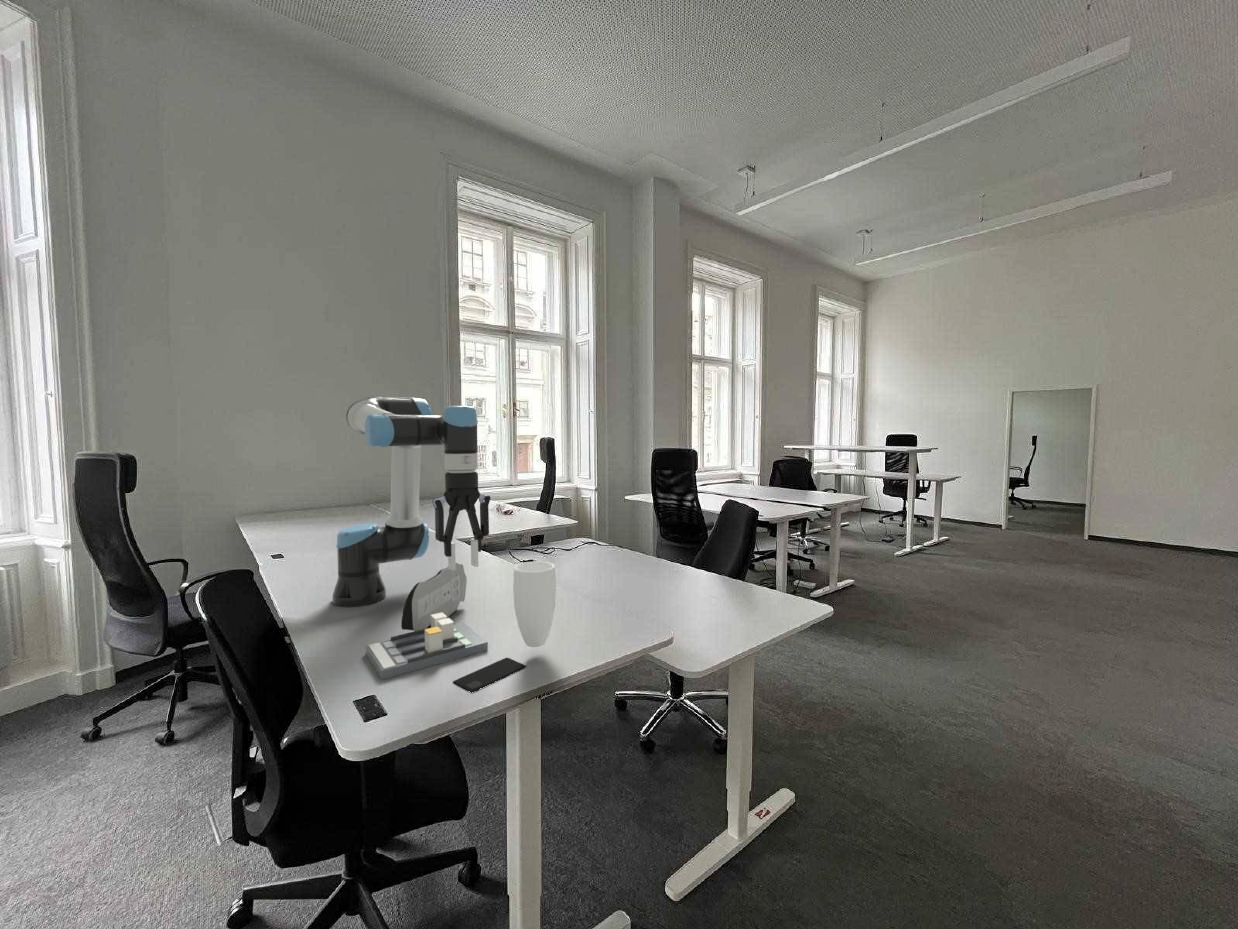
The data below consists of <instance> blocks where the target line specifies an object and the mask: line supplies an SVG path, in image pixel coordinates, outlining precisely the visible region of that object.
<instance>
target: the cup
mask: <svg viewBox="0 0 1238 929" xmlns="http://www.w3.org/2000/svg"><path fill="white" fill-rule="evenodd" d="M556 580H557V577H556V566H555V564H553V563H552V562H548V561H538V560H537V561H527V562H522V563H518V564H517V565H515V566H514V568H513V605H514V612H515V617H516V621H517V626H518V629H519V631H520V634H521V637H522V639H523V642H524V644H525V645H526V646H527V647H530V648H539V647H541V646H544V645H545V644H546V641H547V639H548V636H549V635H550V631H551V628H552V624H553V619H554V615H555V608H556V598H557V597H556V594H557V592H556V591H557V581H556Z"/></svg>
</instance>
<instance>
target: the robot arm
mask: <svg viewBox="0 0 1238 929" xmlns="http://www.w3.org/2000/svg"><path fill="white" fill-rule="evenodd" d="M477 416H478V414H477V409H476V408H475V407H474V406H470V405H448V406H445V407H444V409H443V415H442V414H441V415H438V414H437V415H433V413H432V410H431V407H430V404H429V403H428V401H427V400H426V399H424V398H420V397H418V398H417V397H412V396H411V397H410V396H407V397H406V396H379V395H378V396H377V395H375V396H368V397H363V398H361V399H358V400H356V401H354V402H353V403H352V404H351V405H349V406H348V408H347V409H346V414H345V418H346V419H345V420H346V422H347V424H348V426H349V427H350V428H351V429H352V430H353V431H355V432H356V433H359V434H361V435H364V436H365V441H366V444H367V445H369V446H371V447H381V448H387V447H391V470H390V474H391V475H390V513H389V514H390V515H389V516H388V517H387V518H386V519H385V521H384V524H385V525H384V526H380V527H379V525H378V524H377V523H374V522H369V523H362V524H355V525H352V526H351V525H350V526H348V527H346V528H343V529H341V530H340V531H339V532H338V534H336V551H337V575H338V576H337V580H336V583H335V586H334V590H333V593H332V604H333V605H335V606H338V607H358V606H365V605H370V604H374V603H377V602H379V601H382V600H383V599H384V598H386V596H387V590H386V586H385V583H384V581H383V578H382V575H381V574H380V564H385V563H393V562H400V561H407V560H408V561H409V560H410V561H412V560H414V559H417V558H421V557H423V556H424V555H425V554H426V552H427V550H428V547H429V543H430V530H429V526H428V525H427V523H426V522H424V519H423V517H422V516H420V515H419V514H420V512H419V511H420V488H421V487H420V485H421V483H420V482H421V480H420V479H421V457H422V456H421V455H422V452H421V451H422V449H421V448H422V447H423V446H431V447H432V446H435V447H436V446H444V470H445V471H447V472H446V473H445V474H444V482H445V483H444V485H445V486H444V488H445V490H444V493H443V496H441V497H438V498H434V499H432V501H431V502H432V504H433V508H434V524H435V533H434V534H435V535H434V536H435V540H436V541H439V542H440V543H443V554H444V556H445V557H447V560H448V561H447V562H448V566H447V567H448V568H449V569H450V570H452V571H455V570H456V565H455V563H456V543H455V542H454V541H453V538H454V533H455V532H454V531H455V529H456V523H457V519H458V516H459V514H460V512H461V511H466V513H467V517H468V520H469V523H470V527H471V532H472V534H473V538H470V565H471V566H473V567H474V568H476V567H479V553H480V552H482V546H483V545H482V544H483V543H482V540H483V539H484V537H487V536H489V535H490V523H489V522H490V521H489V520H490V514H489V505H490V501H491V496H490V495H489V494H488V495H486V494H481V492H480V490H479V473H478V472H477V471H476V470H478V468H479V465H478V464H479V463H478V462H479V461H478V454H479V453H478V424H479V423H478V422H479V421H478V417H477ZM476 502H478V503H479V519H478V516H477V510H476V506H475V505H476ZM445 503H446V504H448V506H449V509H448V515H447V516H448V517H447V521H446V524H445V521H444V520H445V515H444V514H445V512H444V507H445V505H446V504H445ZM479 523H480V524H479Z"/></svg>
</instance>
